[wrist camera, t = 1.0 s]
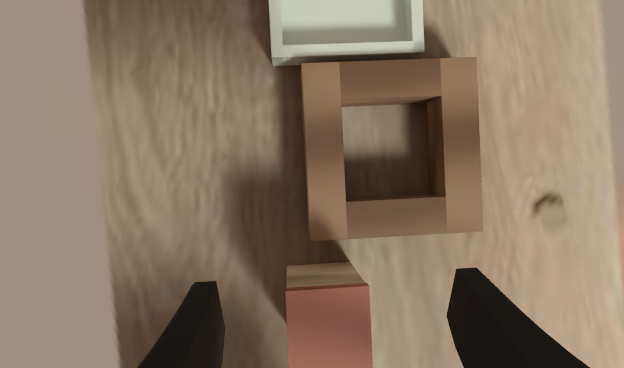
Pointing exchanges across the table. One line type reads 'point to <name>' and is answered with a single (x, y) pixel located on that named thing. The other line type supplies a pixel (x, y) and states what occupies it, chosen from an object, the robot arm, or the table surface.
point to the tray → (345, 30)
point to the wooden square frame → (441, 141)
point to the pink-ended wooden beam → (328, 317)
